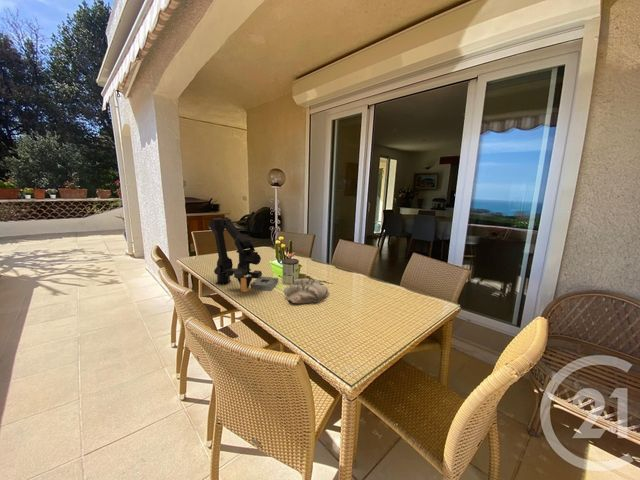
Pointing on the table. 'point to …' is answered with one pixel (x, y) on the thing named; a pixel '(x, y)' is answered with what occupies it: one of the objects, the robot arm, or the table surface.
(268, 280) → the rosette plate
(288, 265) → the coffee can
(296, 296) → the seashell
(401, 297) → the table surface
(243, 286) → the tall orange box
